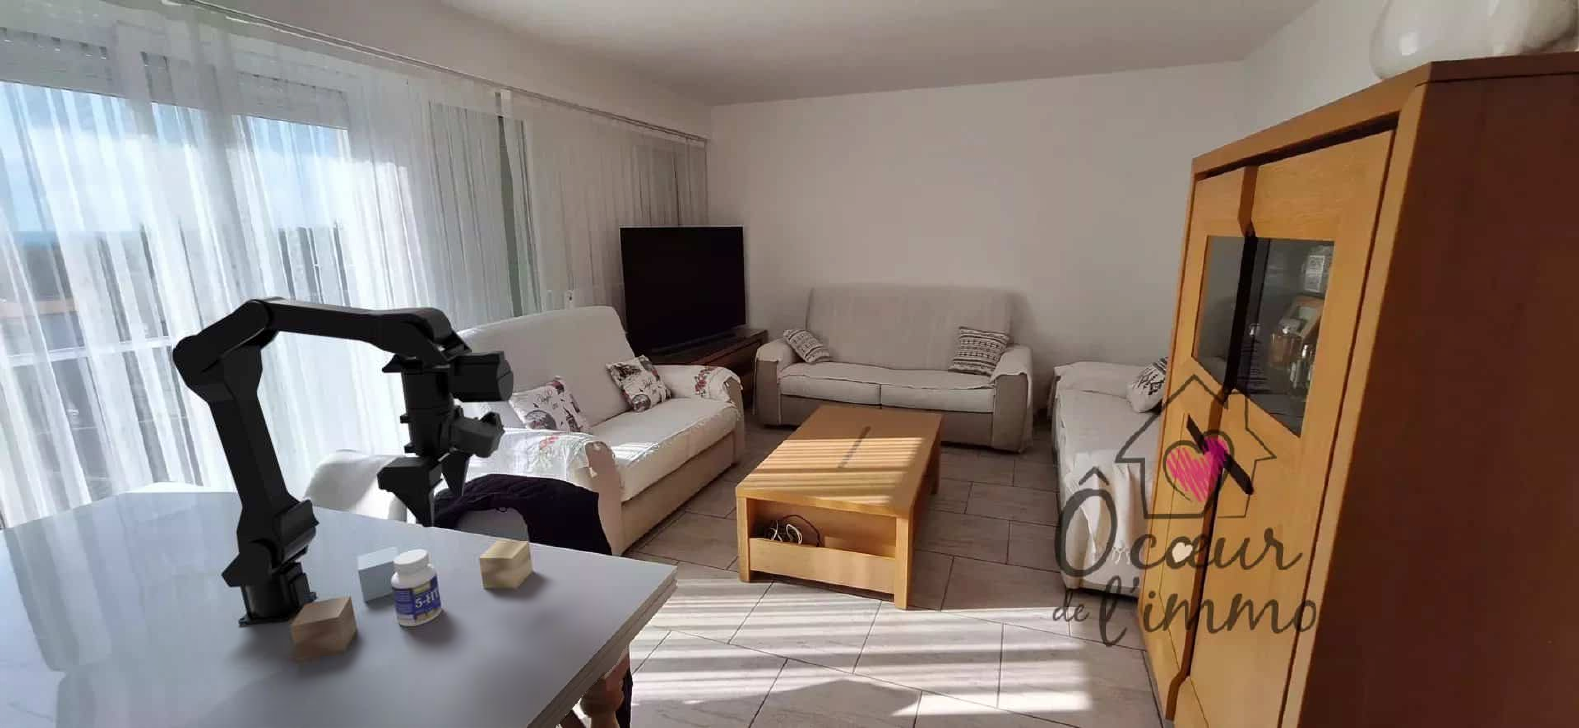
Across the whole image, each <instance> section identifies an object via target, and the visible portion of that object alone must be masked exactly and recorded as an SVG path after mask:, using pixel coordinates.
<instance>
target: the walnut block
mask: <svg viewBox="0 0 1579 728" xmlns="http://www.w3.org/2000/svg"><path fill="white" fill-rule="evenodd" d="M355 615H356V614H355V611H354V607H353V601H352V596H351V595H346V596H342V597H341V596H340V597H337V598H330V599H325V600H318V601H315V602H308V603H307V604H305V605H304V607H302V608H301V609H300V610H299V613H298V614H297V616H296V617H295V619H293V622H292V623H291V625H290V626H289V627H290V631H291V635H292V639H293V643H294V648H295V649H294V650H295V653H296V657H297V662H298V663H299V662H303V661H307V660H313V659H317V658H323V657H326V656H327V657H328V656H330V655H331V656H332V655H336V654H340V653H345V652H347V650H348V648H349V646H350V644H351V642H352V640H353V638H354V637H355V634H356V631H357V630H358V627H357V621H356V616H355Z"/></svg>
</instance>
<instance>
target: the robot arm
mask: <svg viewBox="0 0 1579 728" xmlns="http://www.w3.org/2000/svg"><path fill="white" fill-rule="evenodd" d="M280 332H282V333H283V332H284V333H291V334H300V335H308V336H316V337H325V338H331V339H340V340H341V339H342V340H348V341H349V340H350V341H359V342H363V343H366V344H370V345H371V346H373V347H375V348H377V349H379V350H380V351H384V352H387V353H390V354H393V355H392V358H391V359H390V361H388V362H387V364H385V365H384V366H383V367H382V368H381V372H382V373H383V374H400V379H401V385H402V393H403V400H404V401H403V402H404V409H405V412H404V413H403V414H401V415H399V416H398V417H399V424H407V429H408V436H409V442H407V444H404V445H403V452H404V454H415V456H403V457H401V456H400V457H399V456H398V457H396V458H394V459H393V460H392V461H390V462H389V463H387V464H386V465H384V466H383V467H382V468H381V469H380V470H379V471H378V472H377V473H376V480H377V487H378V489H379V490H380V491H385V492H387V493H392V494H393V495H394V496H395V497H396V498H397V499H398V500H399V501H400V502H401V503H403V505H404V506H405V507H406V508H407V509H408V510H409V512H410V513H411V514H412V516H413V517H414V518H415V519H416V520H417V521H418V523H420V525H421V526H422V527H423V528H432V527H433V526H434V523H435V522H434V521H435V520H434V519H435V490H436V488H438V487H439V486H440V484H441V483H442V482H443V481H445V483H446V485H447V487H448V490H449V491H450V493H451V495H452V497H453V498H454V499H461V498H462V497H463V496H464V490H465V485H466V481H467V480H466V479H467V474H468V469H469V465H470V461H471V458H472V457H473V456H474V455H475V456H476V457H477V458H480V459H488V458H490V457H492V454H493V453H494V452H496V451H497V450H499V446H500V442H501V439H502V436H504V435H505V433H506V431H505V425H504V424H503V421H502V419H501V418H502V417H501V415H500V413H498V412H496V411H492V410H489V411H487V412H486V413H484V414H483V416H482V417H481V418H480V419H479V417H478V416H474V418H472V417H468V416H465V414H464V411H465V410H464V407H462V406H461V404H455V400H458V401H459V402H460V403H463V404H464V403H465V404H466V403H470V404H471V403H498V402H499V403H502V402H503V403H505V402H506V403H507V402H509V401H510V400H511V398H512V395H513V392H514V386H515V384H514V382H515V381H514V372H513V370H512V368H511V364H510V363H509V361H508V360H507V359H506V357H505V356H506V355H505V351H503V350H491V351H488V352H473V349H472V348H471V347H470V346H469V345H468V343H467V342H465V340H463V339H462V337H461V336H460V335H459V334H458V333H457V332H456V331H455V330H454V329H453V327H452V323H451V322H450V319H449V318H448V317H447V315H446V314H445V313H444V312H443V310H440V309H439V308H435V307H431V306H430V307H429V306H422V307H404V308H392V309H368V308H360V307H354V306H353V307H352V306H345V305H344V306H343V305H335V304H328V303H320V302H312V301H305V300H298V299H289V298H284V297H282V296H280V295H269V296H263V297H257V298H251V299H248V300H246V301H245V302H244V303H243V304H241V305H240V306H239V307H237V308H236V309H235V310H234V311H232V312H231V313H230V314H228V315H226V316H224V317H223V318H220V319H218V320H217V321H215V322H213V323H212V324H210V325H208V326H207V327H205V328H203V329H201V331H200V332H198V333H195V334H191V335H187V336H184V337H183V338H182V339H180V340H178V342H177V343H176V345H175V346H174V347H173V348H172V352H171V356H172V361H173V364H174V366H175V368H176V369H177V371H178V374H179V376H180V377H181V379H182V381H183V382H184V385H185V387H187V389H189V390H190V391H191V392H193V393H194V394H195V395H196V396H198V397H199V398H200V399H202V400H203V402H205V403H206V404H207V406H208V408H209V411H210V413H211V417H212V419H213V422H214V425H215V428H216V431H217V434H218V438H219V440H220V443H221V447H222V450H223V452H224V453H223V454H224V455H225V458H226V461H227V464H228V467H229V470H230V473H231V475H232V476H231V477H232V480H233V483H234V486H235V488H236V492H237V494H238V497H239V501H240V503H241V511H240V514H239V515H240V516H239V520H238V522H237V526H236V530H235V534H236V543H237V551H238V554H237V555H236V556H235V557H234V559H233V560H231V562H230V563H229V564H228V565H227V567H226V568H225V569H224V570H223V571H222V572H221V574H220V575H221V577H222V579H223V580H224V582H225V584H227V586H228V588H240V592H241V596H242V600H243V604H244V607H245V609H244V610H245V612H246V613H245V614H244V615H243V616H242V617H240V618H239V619H238V620H237V623H238V625H248V624H261V623H262V624H264V623H276V622H286V621H288V620H290V619H291V618H292V617H294V615H296V614H297V613H298V612H300V611H301V610H302V608H303V607H304V605H305V604H308V603H310V602H311V601H312V600H313V599H314V598H315V597H316V596H317V591H311V589H310V583H309V581H308V576H307V572H304V571H303V566H302V562H301V561H297V560H299V559H300V558H302V557H303V556H305V555H306V554H308V549H309V545H310V544H311V543H312V541H313V540H314V538H315V537H316V535H317V527H318V525H320V522H319V520H318V519H317V518H316V516H315V514H314V513H315V512H314V508H313V506H314V505H313V502H312V501H311V500H310V499H308V498H307V499H305V500H301V501H300V500H299V499H298V498H296V497H294V495H292V494H291V493H290V492H289V491H288V488H287V485H286V481H285V479H284V476H283V472H282V469H281V466H280V463H279V460H278V457H277V453H276V450H275V446H274V444H273V441H272V437H271V434H270V431H269V428H268V425H267V422H266V419H265V416H264V412H263V409H262V406H261V403H260V399H259V395H258V390H259V386H260V382H261V378H262V374H263V371H264V366H263V360H262V359H263V358H262V357H263V356H262V350H263V349H265V348H266V347H267V346H269V345H270V344H271V343H272V342H274V341H275V339H276V338H277V336H278V335H279V333H280ZM440 349H443V350H440ZM442 476H443V478H442Z"/></svg>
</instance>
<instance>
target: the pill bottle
mask: <svg viewBox="0 0 1579 728" xmlns="http://www.w3.org/2000/svg"><path fill="white" fill-rule="evenodd" d="M394 568H395V571H396V573H395V574H394V575H393V577H392V579H391V586H392V591H393V593H392V596H393V602H394V606H395V607H394V609H395V612H396V619H397V623H398V624H400V625H401V626H402V627H403V626H404V627H416V626H420V625H424V624H426V623H428V622H431V621H432V620H434V619H435V618H436V617H438V616H439V615H440V613H441V612H442V609H443V608H442V602H441V601H442V600H441V595H440V590H439V589H440V588H439V581H438V577H437V576H438V575H437V571H436V568H435V567H434V565H432V564H430V558H429V553H428V551H427V550H425V549H420V548H419V549H412V550H409V551H405V552H402V553H401V554H398V556H397V557H396V558H395V559H394Z"/></svg>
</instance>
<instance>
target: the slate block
mask: <svg viewBox="0 0 1579 728" xmlns="http://www.w3.org/2000/svg"><path fill="white" fill-rule="evenodd" d="M398 555H399V551H398V546H397V545H395V546H391V547H387V548H383V549H380V550H375V551H372V552H369V553H364V554H360V555H357V571H358V577H359V583H360V588H361V594H362V598H363V602H367V601H372V600H375V599H378V598H382V597H385V596H387V595H388V596H389V595H393V591H392V586H391V579H392V577H393V575H394V574H395V573H396V571H395V568H394V559H395V558H396V557H397V556H398Z"/></svg>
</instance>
